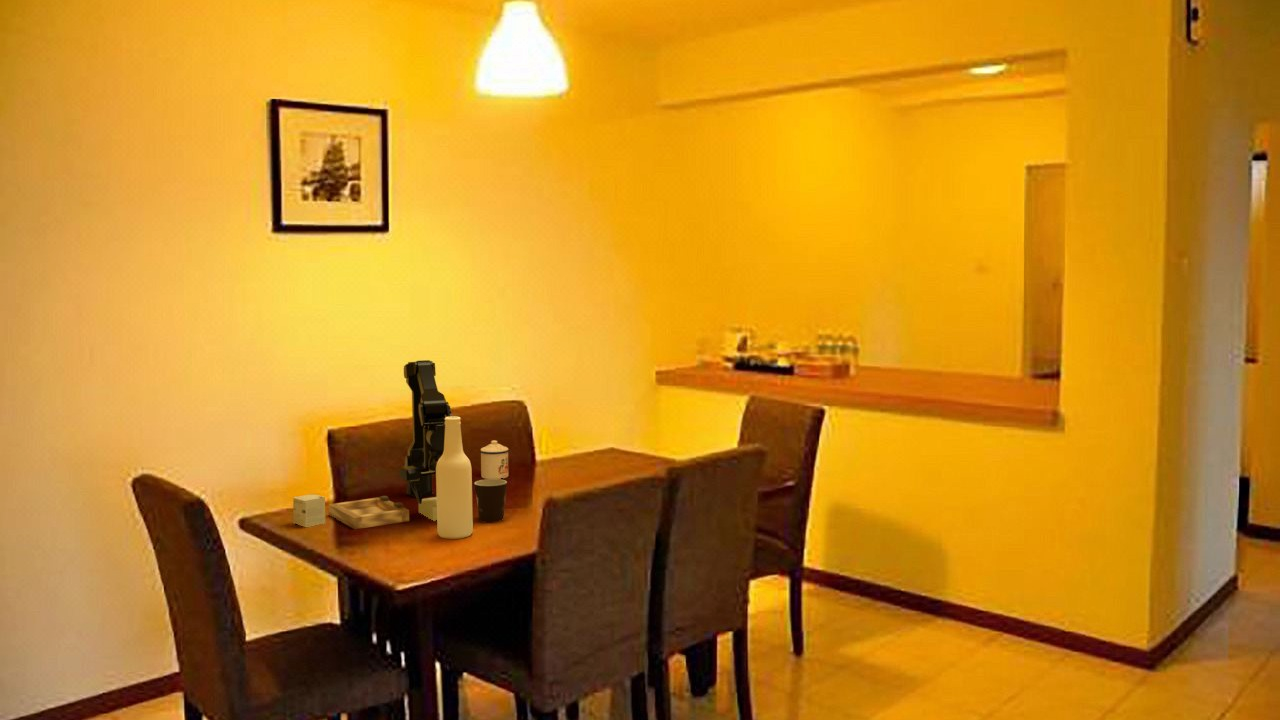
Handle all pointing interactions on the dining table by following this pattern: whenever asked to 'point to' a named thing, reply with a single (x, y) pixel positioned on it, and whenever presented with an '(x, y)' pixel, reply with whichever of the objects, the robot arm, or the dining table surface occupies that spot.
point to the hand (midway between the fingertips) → (435, 501)
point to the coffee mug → (490, 499)
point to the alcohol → (454, 485)
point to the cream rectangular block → (429, 508)
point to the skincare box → (309, 510)
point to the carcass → (369, 512)
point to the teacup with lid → (494, 461)
